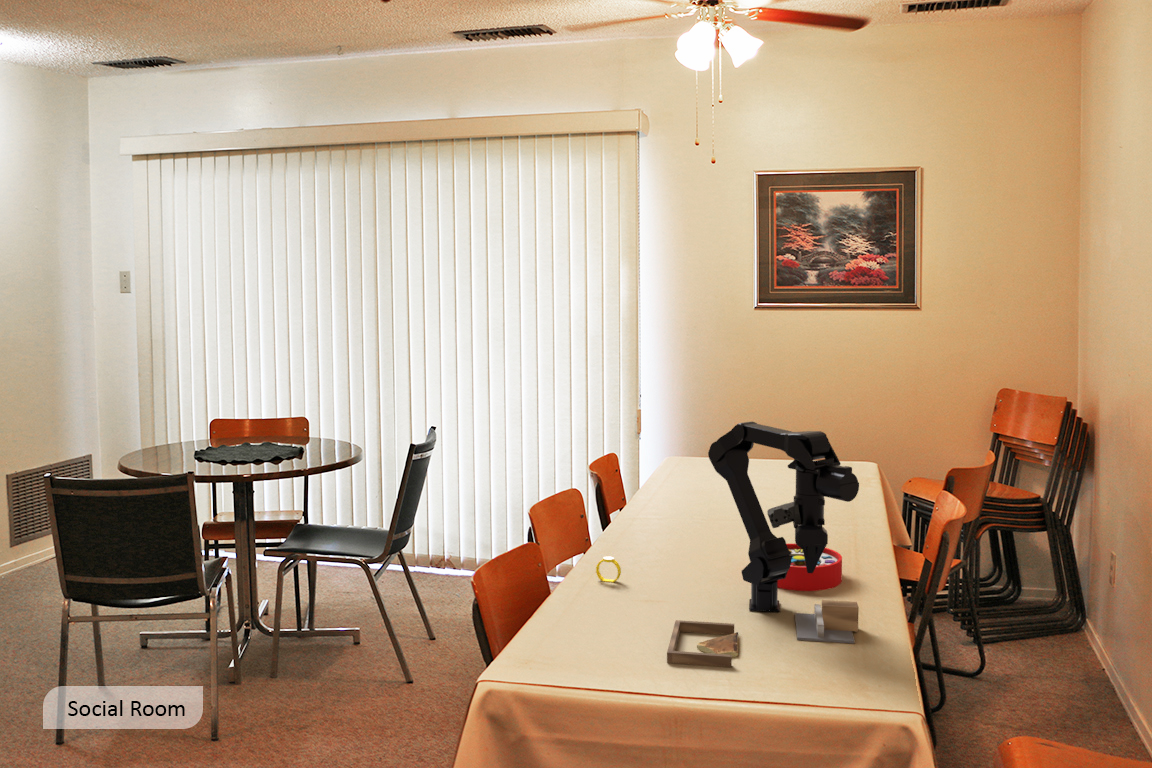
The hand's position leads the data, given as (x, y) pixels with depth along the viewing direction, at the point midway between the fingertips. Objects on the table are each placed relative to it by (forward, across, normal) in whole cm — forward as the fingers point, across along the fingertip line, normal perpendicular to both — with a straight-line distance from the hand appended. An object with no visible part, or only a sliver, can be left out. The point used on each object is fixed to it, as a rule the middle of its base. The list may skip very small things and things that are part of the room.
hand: (808, 566), depth 187 cm
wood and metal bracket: (+12, +2, +6) cm, 14 cm away
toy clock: (+13, -31, -1) cm, 34 cm away
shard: (+13, +15, -18) cm, 27 cm away
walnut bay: (+12, +16, -21) cm, 29 cm away
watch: (+13, -21, -46) cm, 52 cm away
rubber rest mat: (+12, +2, +3) cm, 13 cm away
